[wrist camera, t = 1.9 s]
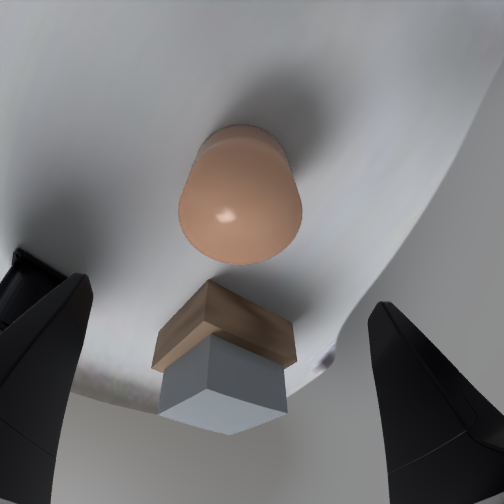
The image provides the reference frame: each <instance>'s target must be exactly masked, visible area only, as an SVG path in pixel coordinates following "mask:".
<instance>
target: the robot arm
mask: <svg viewBox="0 0 504 504" xmlns="http://www.w3.org/2000/svg"><path fill="white" fill-rule="evenodd" d="M92 302H93V292H92V288H91V285H90V281H89V278H88V276H87V275H86V274H81V273H74V274H73V275H71V276H70V277H69V278H66V277H64V276H62V275H61V274H59V273H57V272H56V271H54V270H52V269H51V268H49V267H48V266H46V265H44V264H43V263H41V262H40V261H38V260H36V259H35V258H33V257H32V256H30V255H29V254H27V253H26V252H24V251H22V250H21V249H19V248H17V249H16V250H15V251H14V252H13V258H12V266H11V268H10V269H9V271H8V272H7V274H6V275H5V277H4V278H3V279H2V281H1V283H0V504H50V502H51V492H52V484H53V483H52V482H53V475H54V469H55V462H56V455H57V449H58V444H59V438H60V433H61V428H62V423H63V419H64V414H65V410H66V405H67V401H68V397H69V393H70V389H71V385H72V382H73V378H74V374H75V371H76V367H77V364H78V360H79V357H80V353H81V350H82V347H83V343H84V339H85V334H86V329H87V324H88V320H89V315H90V311H91V307H92ZM368 332H369V341H370V352H371V361H372V369H373V375H374V380H375V385H376V391H377V397H378V403H379V409H380V416H381V423H382V430H383V437H384V445H385V453H386V462H387V472H388V485H389V498H390V504H504V415H502V413H500V412H499V411H498V410H497V409H496V408H495V407H494V406H493V405H492V404H491V403H490V402H489V401H488V400H487V399H486V398H485V397H484V396H483V395H482V394H481V393H479V391H478V390H476V389H475V388H474V386H473V385H472V384H471V383H470V382H469V381H468V380H467V379H466V378H465V377H464V376H463V375H462V374H461V373H460V372H459V371H458V369H457V368H456V367H455V366H454V365H453V364H452V363H451V362H450V361H449V360H448V359H447V358H446V357H445V356H444V355H443V354H442V353H441V351H440V350H439V349H438V348H437V347H436V346H435V345H434V344H433V343H432V342H431V341H430V340H429V339H428V338H427V337H426V336H425V335H424V334H423V333H422V332H421V331H420V330H419V329H418V328H417V327H416V326H415V325H414V324H413V323H412V322H411V321H410V320H409V319H408V318H407V317H406V316H405V315H404V314H403V313H402V312H401V311H400V310H399V309H398V308H397V307H395V305H393V304H392V303H391V302H388V301H387V302H386V301H380V302H378V303H377V305H376V306H375V308H374V310H373V311H372V313H371V315H370V317H369V319H368Z"/></svg>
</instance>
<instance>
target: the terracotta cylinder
mask: <svg viewBox="0 0 504 504" xmlns="http://www.w3.org/2000/svg"><path fill="white" fill-rule="evenodd" d="M178 215H179V222H180V225H181V228H182V231H183V233H184V234H185V236H186V238H187V239H188V241H189V242H190V243H191V244H192V245H193V246H194V247H195V248H196V249H197V250H198V251H200V252H201V253H203V254H204V255H206V256H208V257H210V258H212V259H214V260H217V261H220V262H224V263H228V264H238V265H243V264H253V263H258V262H261V261H264V260H267V259H269V258H271V257H273V256H275V255H277V254H278V253H280V252H281V251H283V250H284V249H285V248H286V247H287V246H288V245H289V244H290V243H291V242H292V240H293V239H294V238H295V236H296V234H297V232H298V230H299V227H300V225H301V220H302V203H301V199H300V196H299V193H298V190H297V187H296V184H295V181H294V178H293V175H292V172H291V169H290V166H289V163H288V160H287V158H286V155H285V152H284V150H283V148H282V146H281V145H280V143H279V142H278V141H277V140H276V139H275V138H274V137H273V136H272V135H271V134H269V133H268V132H266V131H264V130H262V129H260V128H257V127H254V126H249V125H234V126H229V127H226V128H223V129H221V130H219V131H217V132H215V133H214V134H212V135H211V136H210V137H209V138H207V140H206V141H205V142H204V143H203V144H202V146H201V148H200V150H199V152H198V154H197V156H196V159H195V161H194V164H193V166H192V169H191V171H190V174H189V176H188V179H187V181H186V184H185V187H184V189H183V192H182V194H181V197H180V201H179V208H178Z"/></svg>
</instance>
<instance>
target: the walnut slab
mask: <svg viewBox="0 0 504 504" xmlns="http://www.w3.org/2000/svg"><path fill="white" fill-rule="evenodd" d="M209 334H213V335H215V336H217V337H219V338H221V339H224V340H226V341H228V342H230V343H232V344H234V345H237V346H239V347H241V348H243V349H246V350H248V351H250V352H252V353H255V354H257V355H259V356H262V357H264V358H266V359H269V360H271V361H273V362H276V363H278V364H281V365H283V368H284V369H285V368H287V367H289V366H290V365H292V364H294V363H295V362H297V356H296V349H295V341H294V334H293V326H292V323H291V322H289V321H287V320H285V319H283V318H281V317H279V316H277V315H275V314H273V313H271V312H269V311H267V310H265V309H263V308H261V307H260V306H258V305H256V304H254V303H252V302H250V301H248V300H246V299H244V298H242V297H240V296H239V295H237V294H235V293H233V292H231V291H229V290H227V289H225V288H224V287H222V286H220V285H218V284H216V283H214V282H213V281H211V280H209V279H208V280H207V281H206V283H205V284H204V285H203V286H202V287H201V288H200V289H199V290H198V291H197V292H196V293H195V294H194V295H193V296H192V297H191V298H190V299H189V300H188V301H187V303H186V304H185V305H184V306H183V307H182V308H181V309H180V310H179V311H178V312H177V313H176V314H175V315H174V316H173V317H172V318H171V319H170V321H169V322H168V323H167V324H166V325H165V326H164V327H163V328H162V329H161V330H160V331H159V333H158V337H157V342H156V347H155V352H154V357H153V362H152V367H151V368H152V369H154V370H157V371H159V372H162V373H164V369H165V368H167V367H168V366H169V365H170V364H172V363H173V362H174V361H176V360H177V359H178V358H180V357H181V356H182V355H184V354H185V353H186V352H188V351H189V350H190V349H191V348H193V347H194V346H195V345H197V344H198V343H199V342H200V341H202V340H203V339H204V338H206V337H207V336H208V335H209Z"/></svg>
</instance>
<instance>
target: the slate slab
mask: <svg viewBox="0 0 504 504" xmlns="http://www.w3.org/2000/svg"><path fill="white" fill-rule="evenodd" d="M287 413H288V412H287V400H286V389H285V379H284V368H283V365H281V364H278V363H276V362H273V361H271V360H269V359H266V358H264V357H262V356H259V355H257V354H255V353H252V352H250V351H248V350H246V349H243V348H241V347H239V346H237V345H234V344H232V343H230V342H228V341H226V340H224V339H221V338H219V337H217V336H215V335H213V334H209V335H208V336H207V337H206V338H204V339H203V340H202V341H200V342H199V343H198V344H197V345H195V346H194V347H193V348H191V349H190V350H189V351H188V352H186V353H185V354H184V355H182V356H181V357H180V358H178V359H177V360H176V361H174V362H173V363H172V364H170V365H169V366H168V367H167V368H165V369H164V374H163V380H162V387H161V393H160V400H159V407H158V414H157V415H161V416H163V417H167V418H170V419H172V420H176V421H179V422H182V423H186V424H189V425H192V426H196V427H199V428H203V429H207V430H211V431H215V432H219V433H223V434H227V435H232V434H235V433H238V432H241V431H244V430H246V429H249V428H252V427H255V426H257V425H260V424H263V423H265V422H268V421H270V420H273V419H275V418H278V417H280V416H283V415H285V414H287Z"/></svg>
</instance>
